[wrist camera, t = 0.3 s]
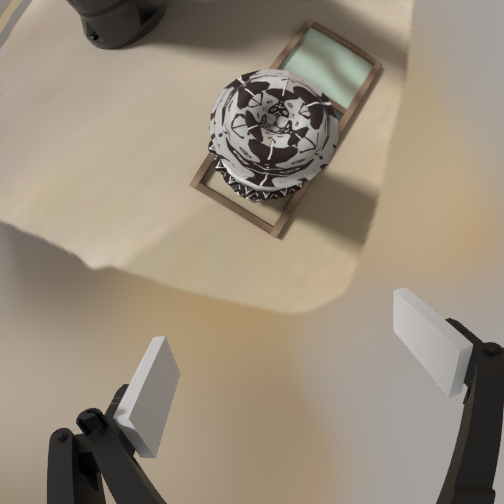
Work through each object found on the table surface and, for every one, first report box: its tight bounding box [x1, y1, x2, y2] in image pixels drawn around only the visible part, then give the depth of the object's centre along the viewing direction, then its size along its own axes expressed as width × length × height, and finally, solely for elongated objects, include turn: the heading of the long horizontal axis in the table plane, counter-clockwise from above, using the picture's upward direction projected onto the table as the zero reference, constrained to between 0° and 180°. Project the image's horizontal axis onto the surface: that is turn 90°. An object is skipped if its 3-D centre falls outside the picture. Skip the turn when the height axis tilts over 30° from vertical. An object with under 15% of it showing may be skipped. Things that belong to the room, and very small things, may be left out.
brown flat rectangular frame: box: [189, 19, 382, 238], centre depth 39 cm, size 34×14×1 cm, turn 148°
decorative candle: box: [208, 69, 338, 202], centre depth 28 cm, size 9×9×25 cm
